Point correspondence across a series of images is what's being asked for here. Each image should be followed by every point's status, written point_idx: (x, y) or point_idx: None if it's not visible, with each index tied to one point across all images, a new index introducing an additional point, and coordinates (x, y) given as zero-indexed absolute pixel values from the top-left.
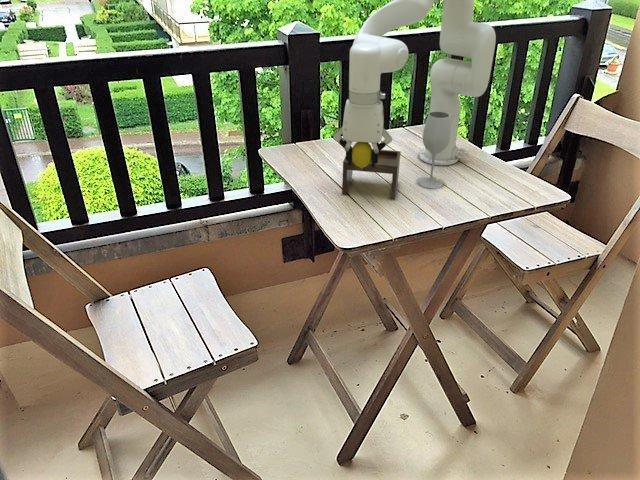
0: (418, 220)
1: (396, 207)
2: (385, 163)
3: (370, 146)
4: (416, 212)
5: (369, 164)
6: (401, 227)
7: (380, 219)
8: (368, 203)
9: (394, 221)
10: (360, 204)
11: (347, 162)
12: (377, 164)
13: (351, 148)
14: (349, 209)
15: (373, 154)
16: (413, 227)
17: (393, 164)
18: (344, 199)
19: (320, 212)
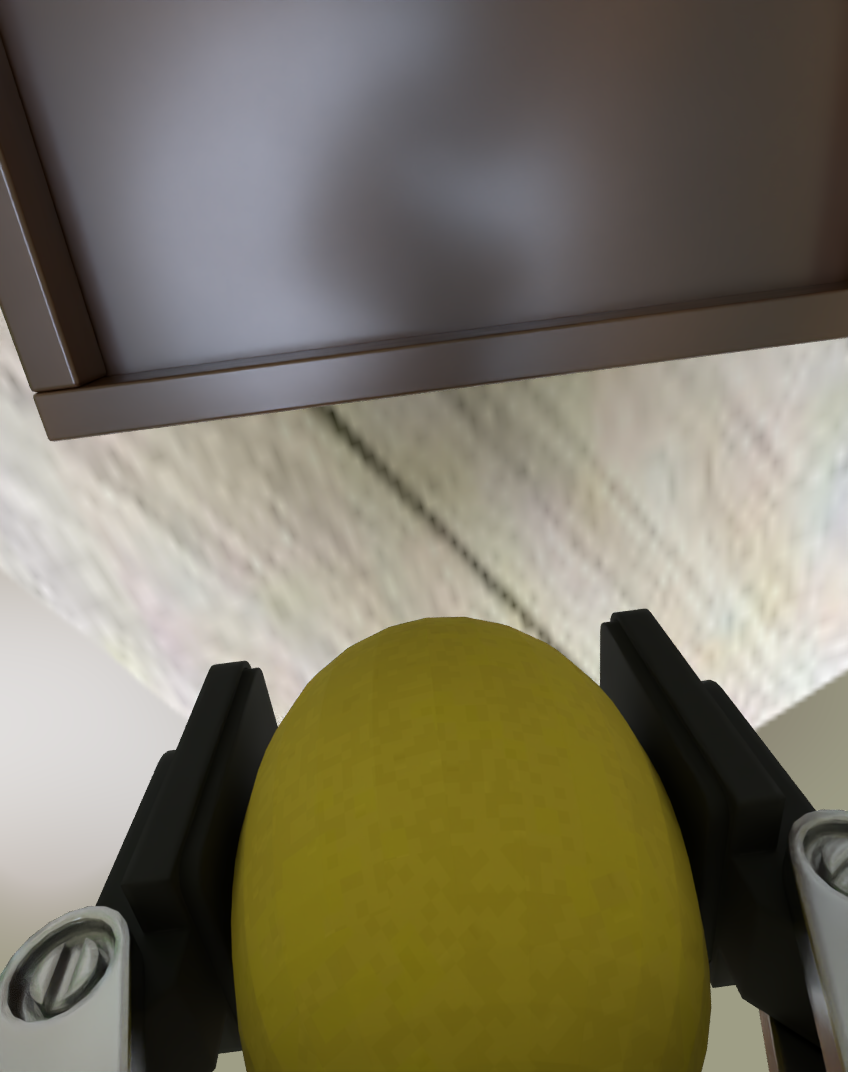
0: (843, 557)
1: (693, 427)
2: (709, 89)
3: (704, 1055)
4: (842, 453)
5: (486, 381)
6: (730, 670)
7: (594, 627)
8: (469, 437)
9: (685, 620)
10: (412, 475)
11: (127, 431)
12: (617, 361)
13: (191, 926)
14: (357, 574)
15: (719, 963)
16: (803, 646)
17: (845, 83)
18: (261, 437)
19: (183, 676)
